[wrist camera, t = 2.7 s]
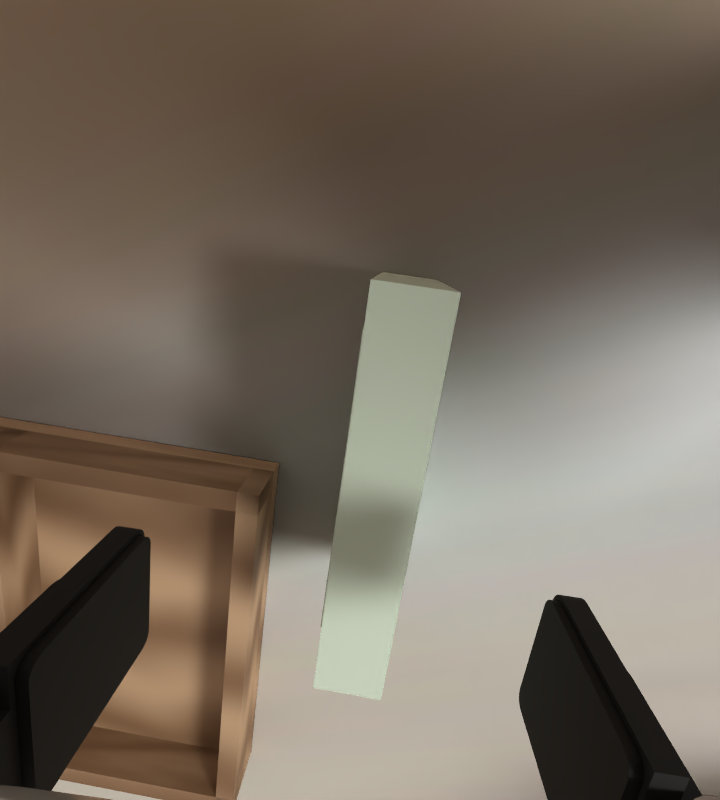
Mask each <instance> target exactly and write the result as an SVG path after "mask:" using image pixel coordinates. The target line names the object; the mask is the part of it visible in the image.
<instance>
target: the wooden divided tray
mask: <svg viewBox="0 0 720 800" xmlns="http://www.w3.org/2000/svg"><path fill="white" fill-rule="evenodd" d="M278 469H279V463H276V462H270V461H264V460H258V459H252V458H245V457H239V456H233V455H227V454H221V453H215V452H209V451H203V450H197V449H191V448H185V447H179V446H172V445H166V444H160V443H154V442H148V441H142V440H136V439H130V438H124V437H118V436H112V435H106V434H99V433H93V432H87V431H81V430H75V429H69V428H63V427H57V426H51V425H45V424H39V423H33V422H26V421H20V420H14V419H8V418H2V417H0V632H2V631H3V630H4V629H5V628H6V627H7V626H8V625H9V624H10V623H11V622H12V621H13V620H14V619H15V618H16V617H17V616H19V615H20V614H21V613H22V612H23V611H24V610H25V609H26V608H27V607H28V606H29V605H30V604H31V603H32V602H33V601H34V600H36V599H37V598H38V597H39V596H40V595H41V594H42V593H43V592H44V591H45V590H46V589H47V588H48V587H49V586H50V585H52V584H53V583H54V582H56V581H57V580H59V579H61V578H62V577H63V576H64V575H65V574H66V573H67V572H68V571H69V570H70V569H71V568H72V567H73V566H74V565H75V564H76V563H77V562H79V561H80V560H81V559H82V558H83V557H84V556H85V555H86V554H87V553H88V552H89V551H90V550H91V549H92V548H93V547H94V546H95V545H96V544H98V543H99V542H100V541H101V540H102V539H103V538H104V537H105V536H106V535H107V534H108V533H109V532H110V531H111V530H112V529H113V528H115V527H116V526H123V527H129V528H135V529H141V530H143V531H144V535H145V537H149V538H150V540H151V555H150V605H149V633H148V638H147V641H146V643H145V646H144V647H143V649H142V651H141V652H140V654H139V655H138V657H137V658H136V660H135V662H134V663H133V665H132V666H131V668H130V669H129V671H128V672H127V674H126V676H125V677H124V679H123V680H122V682H121V683H120V685H119V686H118V688H117V690H116V691H115V693H114V694H113V696H112V697H111V699H110V700H109V702H108V704H107V705H106V707H105V708H104V710H103V711H102V713H101V714H100V716H99V717H98V719H97V721H96V722H95V724H94V725H93V727H92V728H91V730H90V731H89V733H88V735H87V736H86V738H85V739H84V741H83V742H82V744H81V745H80V747H79V749H78V750H77V752H76V753H75V755H74V756H73V758H72V759H71V761H70V763H69V764H68V766H67V767H66V769H65V770H64V772H63V773H62V775H61V777H60V778H59V779H60V780H65V781H70V782H76V783H81V784H86V785H91V786H96V787H101V788H106V789H111V790H116V791H122V792H127V793H132V794H137V795H142V796H147V797H152V798H157V799H162V800H236V799H237V796H238V793H239V789H240V786H241V783H242V780H243V776H244V773H245V770H246V767H247V763H248V760H249V757H250V754H251V748H252V738H253V727H254V717H255V707H256V697H257V686H258V676H259V666H260V655H261V645H262V635H263V624H264V614H265V604H266V593H267V583H268V573H269V562H270V552H271V542H272V531H273V521H274V511H275V500H276V490H277V480H278Z"/></svg>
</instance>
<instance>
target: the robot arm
mask: <svg viewBox="0 0 720 800" xmlns="http://www.w3.org/2000/svg"><path fill="white" fill-rule="evenodd" d="M150 555H151V540H150V538H149V537H145V535H144V531H143V530H141V529H135V528H129V527H123V526H116V527H115V528H113V529H112V530H111V531H110V532H109V533H108V534H107V535H106V536H105V537H104V538H103V539H102V540H101V541H100V542H99V543H98V544H96V545H95V546H94V547H93V548H92V549H91V550H90V551H89V552H88V553H87V554H86V555H85V556H84V557H83V558H82V559H81V560H80V561H79V562H77V563H76V564H75V565H74V566H73V567H72V568H71V569H70V570H69V571H68V572H67V573H66V574H65V575H64V576H63V577H62V578H61V579H59V580H57V581H56V582H54V583H53V584H52V585H50V586H49V587H48V588H47V589H46V590H45V591H44V592H43V593H42V594H41V595H40V596H39V597H38V598H37V599H36V600H34V601H33V602H32V603H31V604H30V605H29V606H28V607H27V608H26V609H25V610H24V611H23V612H22V613H21V614H20V615H19V616H17V617H16V618H15V619H14V620H13V621H12V622H11V623H10V624H9V625H8V626H7V627H6V628H5V629H4V630H3V631H2V632H0V800H111V799H104V798H97V797H90V796H83V795H76V794H69V793H61V792H54V791H51V790H52V789H53V787H54V786H55V784H56V783H57V781H58V780H59V778H60V777H61V775H62V773H63V772H64V770H65V769H66V767H67V766H68V764H69V763H70V761H71V759H72V758H73V756H74V755H75V753H76V752H77V750H78V749H79V747H80V745H81V744H82V742H83V741H84V739H85V738H86V736H87V735H88V733H89V731H90V730H91V728H92V727H93V725H94V724H95V722H96V721H97V719H98V717H99V716H100V714H101V713H102V711H103V710H104V708H105V707H106V705H107V704H108V702H109V700H110V699H111V697H112V696H113V694H114V693H115V691H116V690H117V688H118V686H119V685H120V683H121V682H122V680H123V679H124V677H125V676H126V674H127V672H128V671H129V669H130V668H131V666H132V665H133V663H134V662H135V660H136V658H137V657H138V655H139V654H140V652H141V651H142V649H143V647H144V646H145V643H146V641H147V638H148V633H149V605H150ZM519 703H520V709H521V713H522V716H523V719H524V723H525V726H526V729H527V732H528V736H529V739H530V742H531V746H532V749H533V752H534V756H535V759H536V762H537V766H538V769H539V772H540V776H541V779H542V782H543V786H544V789H545V792H546V796H547V799H548V800H720V797H717V796H709V795H703V796H702V794H701V792H700V791H699V789H698V787H697V786H696V784H695V782H694V781H693V779H692V777H691V776H690V774H689V772H688V771H687V769H686V767H685V766H684V764H683V762H682V761H681V759H680V757H679V756H678V754H677V752H676V751H675V749H674V747H673V746H672V744H671V742H670V740H669V739H668V737H667V735H666V734H665V732H664V730H663V729H662V727H661V725H660V724H659V722H658V720H657V719H656V717H655V715H654V714H653V712H652V710H651V709H650V707H649V705H648V704H647V702H646V700H645V699H644V697H643V695H642V694H641V692H640V690H639V688H638V687H637V685H636V683H635V682H634V680H633V678H632V677H631V675H630V674H629V673H628V671H627V670H626V668H625V667H624V665H623V663H622V662H621V660H620V658H619V657H618V655H617V653H616V652H615V650H614V648H613V647H612V645H611V643H610V641H609V640H608V638H607V636H606V635H605V633H604V631H603V630H602V628H601V626H600V625H599V623H598V621H597V620H596V618H595V616H594V614H593V613H592V611H591V609H590V608H589V606H588V604H587V603H586V601H585V600H584V599H582V598H576V597H570V596H563V595H556V596H555V597H554V599H553V600H548V601H547V602H546V604H545V606H544V610H543V613H542V616H541V620H540V623H539V627H538V630H537V633H536V637H535V640H534V644H533V647H532V650H531V654H530V657H529V661H528V664H527V667H526V671H525V674H524V677H523V681H522V684H521V688H520V692H519Z"/></svg>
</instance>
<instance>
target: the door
mask: <svg viewBox="0 0 720 800" xmlns="http://www.w3.org/2000/svg"><path fill="white" fill-rule="evenodd" d="M460 296H461V292H459V291H457V290H455V289H453V288H451V287H449V286H448V285H446V284H444V283H442V282H440V281H438V280H434V279H428V278H421V277H414V276H407V275H400V274H393V273H387V272H382V273H380V274H379V275H377V276H375V277H374V278H372V279H371V280H370V288H369V295H368V302H367V309H366V316H365V323H364V327H363V329H362V336H361V343H360V351H359V358H358V365H357V372H356V379H355V386H354V393H353V400H352V408H351V415H350V422H349V429H348V436H347V443H346V450H345V457H344V464H343V472H342V479H341V486H340V493H339V500H338V507H337V514H336V521H335V529H334V536H333V543H332V550H331V557H330V564H329V571H328V578H327V586H326V593H325V600H324V607H323V614H322V621H321V627H322V628H321V635H320V642H319V649H318V656H317V663H316V670H315V677H314V684H313V688H317V689H322V690H328V691H333V692H339V693H344V694H350V695H355V696H361V697H366V698H372V699H377V700H381V697H382V692H383V687H384V682H385V677H386V671H387V666H388V661H389V656H390V651H391V646H392V641H393V636H394V631H395V626H396V621H397V616H398V611H399V605H400V600H401V595H402V590H403V585H404V580H405V575H406V570H407V565H408V560H409V555H410V550H411V545H412V539H413V534H414V529H415V524H416V519H417V514H418V509H419V504H420V499H421V494H422V489H423V484H424V479H425V473H426V468H427V463H428V458H429V453H430V448H431V443H432V438H433V433H434V428H435V423H436V418H437V413H438V407H439V402H440V397H441V392H442V387H443V382H444V377H445V372H446V367H447V362H448V357H449V352H450V346H451V341H452V336H453V331H454V326H455V321H456V316H457V311H458V306H459V301H460Z"/></svg>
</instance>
